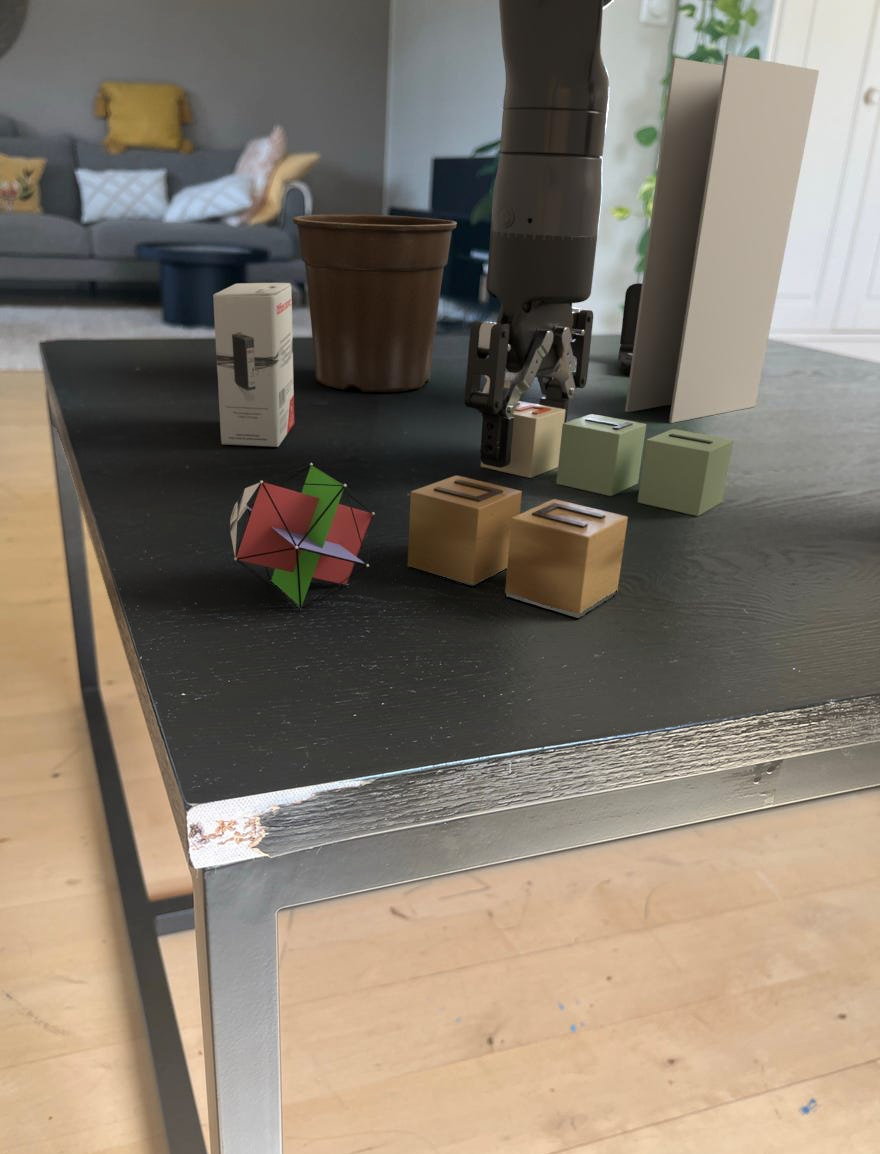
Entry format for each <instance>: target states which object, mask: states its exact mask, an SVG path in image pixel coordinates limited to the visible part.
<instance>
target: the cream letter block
mask: <svg viewBox="0 0 880 1154" xmlns="http://www.w3.org/2000/svg"><path fill="white" fill-rule="evenodd" d="M565 411H566V410H565V409H560V408H554V407H549V406H544V405H539V404H538V403H532V402H527V401H522V400H519V401H518V404H517V406H516V409H515V411H514V414H513V415H512V417H514V424H513V436H512V447H511V459H510V463H509V465H507V466H505V467H502V468H498V467H494V466H489V465H485V464H483V463H482V462H481V461H480V467H481V468H484V469H489V470H494V471H497V472H502V473H505V474H506V473H507V474H510V475H514V476H515V475H516V476H520V477H523V478H528V479H532V478H534V477H537V476H540V475H542V474H545V473H547V472H549V471H552V470H554V469H558V463H559V454H560V444H561V435H562V426H563V423H564V420H565Z"/></svg>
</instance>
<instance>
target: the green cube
mask: <svg viewBox="0 0 880 1154" xmlns="http://www.w3.org/2000/svg"><path fill="white" fill-rule="evenodd" d="M646 430H647V423H644V422H638V421H633V420H628V419H622V418H617V417H616V418H614V417H610V416H605V415H600V414H593V413H590V414H588V415H584V416H581V417H578V418H575V419H572V420H570V421H567V422H566V423H563V426H562V435H561V444H560V454H559V463H558V467H557V471H556V482H555V484H556V485H560V486H563V487H569V488H573V489H577V490H581V491H586V492H591V493H595V494H599V495H604V496H608V497H613V496H615V495H617V494H619V493H621V492H623V491H625V490H627V489H630V488H632V487H634V486H636V485H638V483H639V478H640V471H641V464H642V457H643V453H644V452H643V451H644V443H645V436H646Z"/></svg>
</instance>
